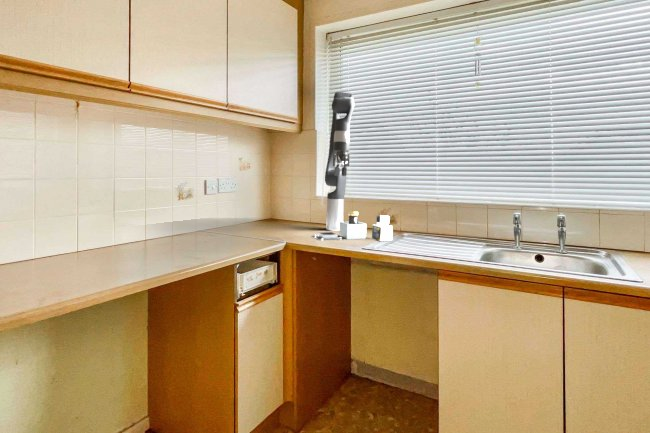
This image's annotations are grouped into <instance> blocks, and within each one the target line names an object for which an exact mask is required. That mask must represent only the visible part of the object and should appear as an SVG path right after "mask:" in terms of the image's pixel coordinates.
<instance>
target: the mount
mask: <svg viewBox="0 0 650 433" xmlns="http://www.w3.org/2000/svg"><path fill="white" fill-rule="evenodd" d="M316 234H317V235H316ZM316 234H313V235H312V236H311V237H312V238H314V239H315V240H318V241H320V242H321V241H345V238H343V237H340V236H338V235H339V234H337V233H335V232H333V231H325V232H324V231H322V232H319V231H318V232H317V233H316Z"/></svg>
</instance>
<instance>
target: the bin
mask: <svg viewBox="0 0 650 433" xmlns="http://www.w3.org/2000/svg"><path fill="white" fill-rule="evenodd" d="M367 230H368V225H367V223H365V222H361V221H357V224H349V221H343V222H340V231H339V234H338V235H339V236H338V237H340V238H342V239H346V240H358V239H359V240H361V239H367Z"/></svg>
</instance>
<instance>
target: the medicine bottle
mask: <svg viewBox="0 0 650 433" xmlns="http://www.w3.org/2000/svg"><path fill="white" fill-rule="evenodd" d="M389 224H390V216H389V215H386V214H379V215H376V224H372V228H371V230H372V231H371V239H372V240H375V241H377V242H392V241H393V232H394V230H393V229H394V228H393V225H389Z"/></svg>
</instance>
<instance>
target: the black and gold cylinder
mask: <svg viewBox="0 0 650 433" xmlns="http://www.w3.org/2000/svg"><path fill="white" fill-rule="evenodd" d="M347 215H348V222H349V224H357V222H358V216H359V211H348V212H347Z"/></svg>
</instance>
